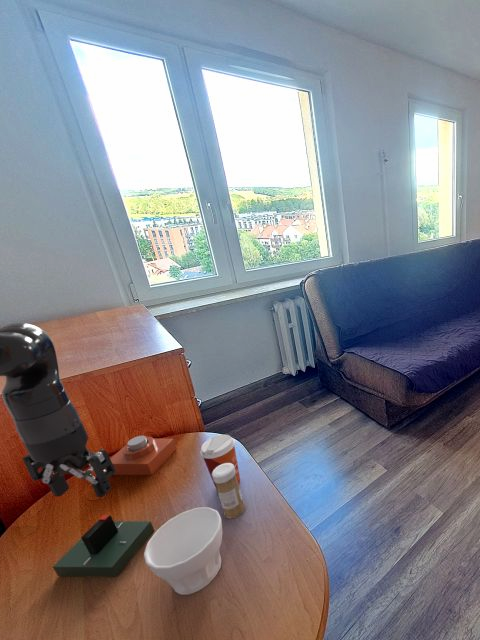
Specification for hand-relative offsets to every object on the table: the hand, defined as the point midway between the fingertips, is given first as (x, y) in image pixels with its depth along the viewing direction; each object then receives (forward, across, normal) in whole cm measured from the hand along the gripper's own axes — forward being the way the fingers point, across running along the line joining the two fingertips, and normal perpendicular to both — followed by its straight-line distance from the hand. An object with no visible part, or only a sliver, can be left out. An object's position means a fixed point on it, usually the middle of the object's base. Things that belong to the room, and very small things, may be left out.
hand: (83, 493), depth 67 cm
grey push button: (+11, -13, +25) cm, 30 cm away
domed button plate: (+16, -12, +25) cm, 32 cm away
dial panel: (+16, +1, -1) cm, 16 cm away
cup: (+16, +23, -5) cm, 28 cm away
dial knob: (+13, +1, -1) cm, 13 cm away
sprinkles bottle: (+16, +23, +9) cm, 29 cm away
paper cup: (+16, +17, +17) cm, 29 cm away
